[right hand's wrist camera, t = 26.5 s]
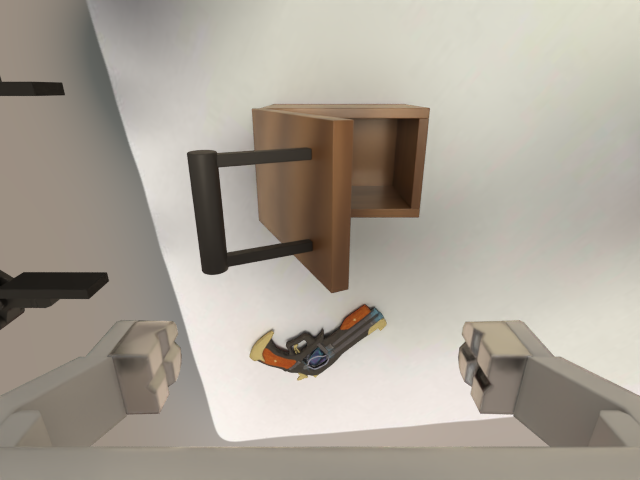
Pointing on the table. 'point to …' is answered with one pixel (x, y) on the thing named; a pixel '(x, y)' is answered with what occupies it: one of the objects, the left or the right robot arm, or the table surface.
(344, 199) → the lid
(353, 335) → the toy gun
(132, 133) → the table surface
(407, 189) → the chest
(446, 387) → the table surface
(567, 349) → the table surface
